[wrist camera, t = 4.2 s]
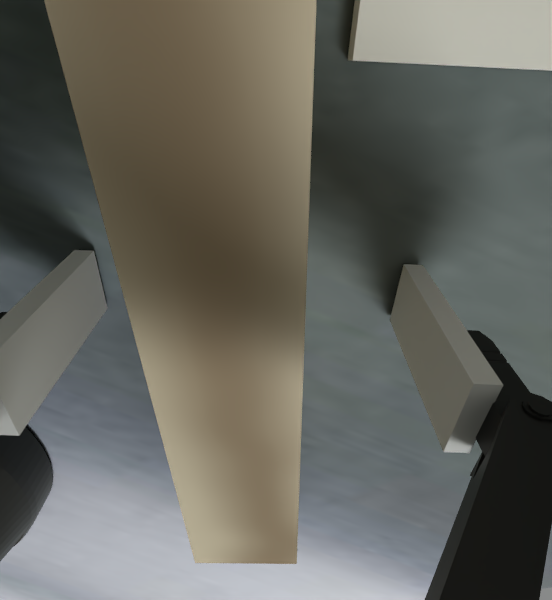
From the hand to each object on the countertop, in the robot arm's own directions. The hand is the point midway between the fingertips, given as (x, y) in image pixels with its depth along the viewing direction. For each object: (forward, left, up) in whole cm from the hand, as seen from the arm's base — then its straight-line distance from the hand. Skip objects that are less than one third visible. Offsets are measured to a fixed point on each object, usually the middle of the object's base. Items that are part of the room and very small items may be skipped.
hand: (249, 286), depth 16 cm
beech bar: (0, 0, -1) cm, 1 cm away
